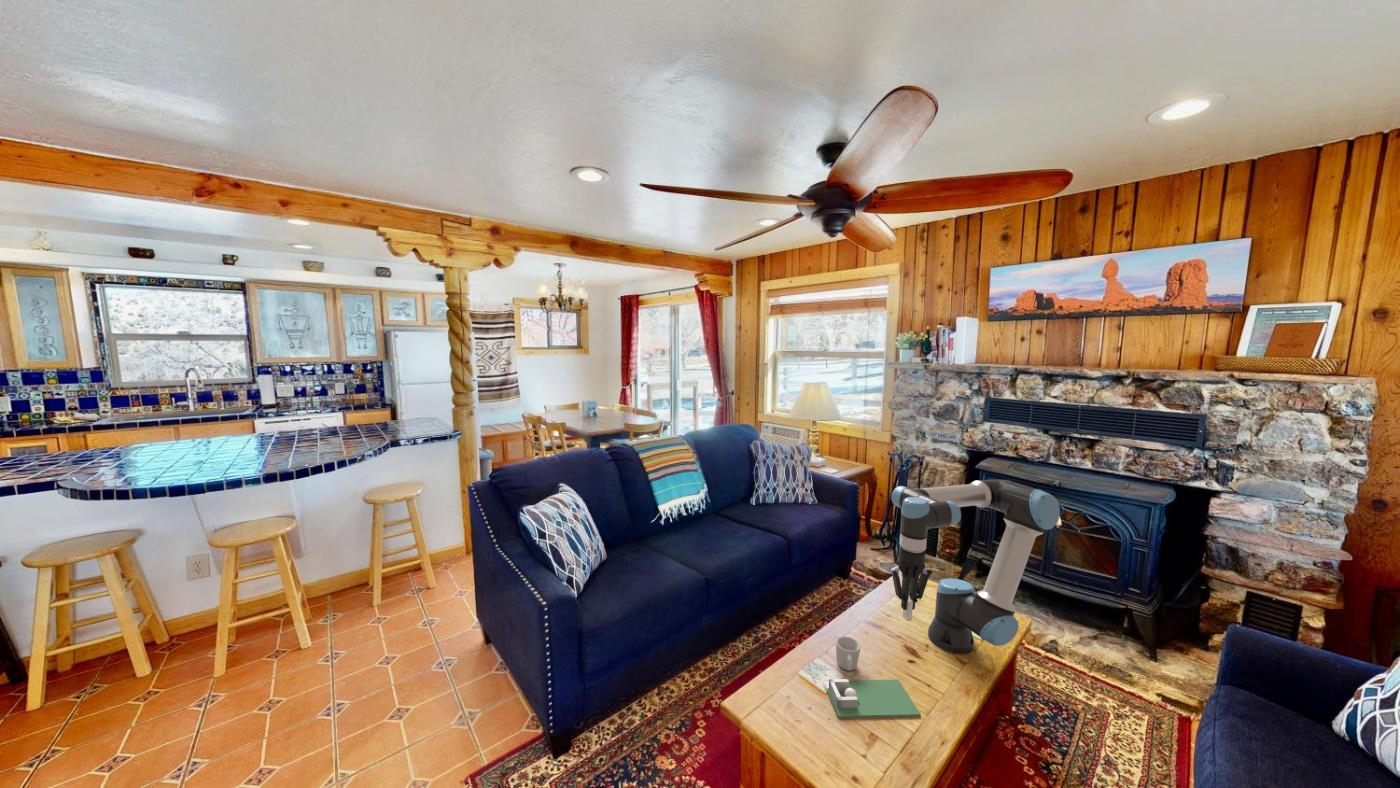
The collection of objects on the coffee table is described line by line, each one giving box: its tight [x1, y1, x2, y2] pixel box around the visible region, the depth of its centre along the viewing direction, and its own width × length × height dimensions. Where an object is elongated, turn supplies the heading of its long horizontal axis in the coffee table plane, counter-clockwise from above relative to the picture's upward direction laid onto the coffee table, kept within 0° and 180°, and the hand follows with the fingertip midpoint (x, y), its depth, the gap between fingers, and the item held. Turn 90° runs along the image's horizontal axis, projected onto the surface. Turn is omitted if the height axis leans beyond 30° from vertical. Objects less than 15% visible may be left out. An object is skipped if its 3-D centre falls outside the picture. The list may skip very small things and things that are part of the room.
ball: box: [844, 688, 857, 697], centre depth 142 cm, size 4×4×4 cm
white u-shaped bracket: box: [828, 678, 858, 708], centre depth 142 cm, size 6×8×4 cm
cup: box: [835, 635, 861, 671], centre depth 155 cm, size 11×8×8 cm
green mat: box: [826, 679, 922, 719], centre depth 142 cm, size 25×14×1 cm, turn 93°
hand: (907, 618), depth 145 cm, fingers closed
